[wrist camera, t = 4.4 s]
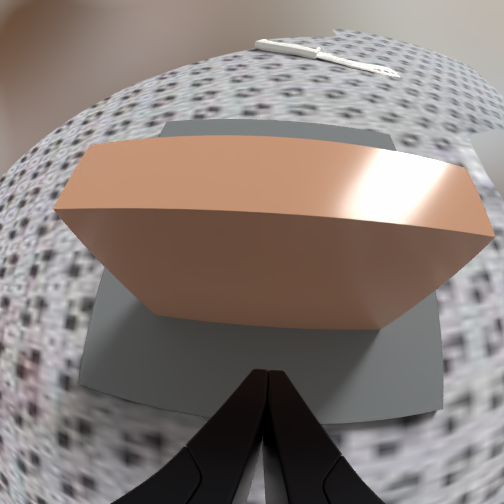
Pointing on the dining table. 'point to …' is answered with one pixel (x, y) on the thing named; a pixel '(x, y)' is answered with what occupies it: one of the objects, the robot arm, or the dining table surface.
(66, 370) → the dining table surface
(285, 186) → the tile
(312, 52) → the knife
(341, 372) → the mat
